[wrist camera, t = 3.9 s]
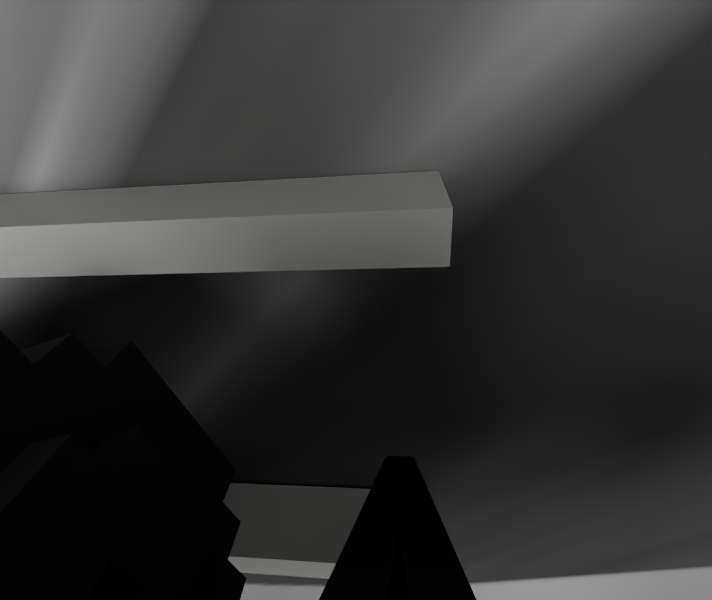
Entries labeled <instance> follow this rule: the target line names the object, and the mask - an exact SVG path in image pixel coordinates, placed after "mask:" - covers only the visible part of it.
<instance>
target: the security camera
mask: <svg viewBox="0 0 712 600" xmlns="http://www.w3.org/2000/svg"><path fill="white" fill-rule="evenodd" d="M235 471H236V469H235V468H234V467H233V465H232V464H231V463H230V462H229V461H228V459H227V458H226V457H225V456H224V454H223V453H222V452H221V451H220V449H219V448H218V447H217V446H216V444H215V443H214V442H213V441H212V440H211V438H210V437H209V436H208V435H207V433H206V432H205V431H204V430H203V428H202V427H201V426H200V425H199V424H198V422H197V421H196V420H195V419H194V417H193V416H192V415H191V414H190V412H189V411H188V410H187V409H186V408H185V406H184V405H183V404H182V403H181V401H180V400H179V399H178V398H177V396H176V395H175V394H174V393H173V392H172V390H171V389H170V388H169V387H168V385H167V384H166V383H165V382H164V380H163V379H162V378H161V377H160V375H159V374H158V373H157V372H156V371H155V369H154V368H153V367H152V366H151V364H150V363H149V362H148V361H147V359H146V358H145V357H144V356H143V355H142V353H141V352H140V351H139V350H138V348H137V347H136V346H135V345H134V343H133V342H132V341H129V342H126V343H123V344H120V345H117V346H113V347H110V348H107V349H104V350H101V351H98V352H94V353H90V352H89V350H88V349H87V348H86V347H85V346H84V345H83V344H82V343H81V341H80V340H79V339H78V338H77V337H76V336H75V335H74V334H73V333H70V334H67V335H64V336H61V337H59V338H56V339H53V340H50V341H47V342H44V343H41V344H38V345H35V346H32V347H29V348H26V349H23V350H19V349H18V348H17V347H16V346H15V345H14V344H13V343H12V342H11V341H10V340H9V339H8V338H7V337H6V336H5V335H4V334H3V333H2V332H1V331H0V600H240V598H241V594H242V591H243V588H244V584H245V581H246V577H245V576H244V575H243V574H242V573H241V572H240V571H239V570H238V569H237V568H236V567H235V566H234V565H233V564H232V563H231V562H230V561H229V560H228V558H229V555H230V552H231V549H232V546H233V543H234V540H235V538H236V535H237V532H238V529H239V526H240V523H241V522H240V520H239V519H238V518H237V517H236V516H235V515H234V514H233V513H232V511H231V510H230V509H229V508H228V507H227V506H226V505H225V503H224V502H223V500H224V498H225V495H226V493H227V491H228V488H229V486H230V483H231V481H232V478H233V476H234V473H235Z"/></svg>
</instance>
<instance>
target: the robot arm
mask: <svg viewBox="0 0 712 600" xmlns="http://www.w3.org/2000/svg"><path fill="white" fill-rule="evenodd" d="M319 600H476V598H475V596H474V593H473V591H472V589H471V586H470V584H469V582H468V580H467V577H466V575H465V573H464V570H463V568H462V566H461V564H460V561H459V559H458V557H457V554H456V552H455V550H454V548H453V545H452V543H451V541H450V538H449V536H448V534H447V532H446V529H445V527H444V525H443V522H442V520H441V518H440V516H439V513H438V511H437V509H436V506H435V504H434V502H433V500H432V497H431V495H430V493H429V490H428V488H427V486H426V484H425V481H424V479H423V477H422V474H421V472H420V470H419V468H418V465H417V463H416V461H415V459H414V458H413V457H411V456H387V457H386V458H385V459H384V461H383V463H382V466H381V468H380V470H379V472H378V474H377V476H376V478H375V481H374V483H373V485H372V487H371V489H370V491H369V493H368V496H367V498H366V500H365V502H364V504H363V506H362V509H361V511H360V513H359V515H358V517H357V519H356V521H355V524H354V526H353V528H352V530H351V532H350V534H349V536H348V539H347V541H346V543H345V545H344V547H343V549H342V551H341V554H340V556H339V558H338V560H337V562H336V564H335V567H334V569H333V571H332V573H331V575H330V577H329V579H328V582H327V584H326V586H325V588H324V590H323V592H322V594H321V597H320V599H319Z"/></svg>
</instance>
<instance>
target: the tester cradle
mask: <svg viewBox="0 0 712 600" xmlns="http://www.w3.org/2000/svg"><path fill="white" fill-rule="evenodd" d="M452 218H453V206H452V204H451V201H450V199H449V196H448V194H447V191H446V188H445V186H444V183H443V181H442V178H441V176H440V173H439V171H424V172H405V173H386V174H368V175H349V176H331V177H312V178H294V179H275V180H257V181H238V182H220V183H201V184H183V185H164V186H146V187H127V188H109V189H90V190H72V191H53V192H35V193H16V194H0V278H20V277H60V276H100V275H140V274H180V273H220V272H260V271H299V270H339V269H379V268H419V267H450V254H451V236H452ZM369 491H370V489H361V488H338V487H315V486H291V485H268V484H244V483H230V486H229V488H228V491H227V493H226V495H225V498H224V500H223V502H224V503H225V505H226V506H227V507H228V508H229V509H230V510H231V511H232V513H233V514H234V515H235V516H236V517H237V518H238V519H239V520H240V522H241V523H240V526H239V529H238V532H237V535H236V538H235V540H234V543H233V546H232V549H231V552H230V555H229V558H228V560H229V561H230V562H231V563H232V564H233V565H234V566H235V567H236V568H237V569H238V570H239V571H240V572H241V573H255V574H269V575H283V576H297V577H311V578H325V579H329V577H330V575H331V573H332V571H333V569H334V567H335V564H336V562H337V560H338V558H339V556H340V554H341V551H342V549H343V547H344V545H345V543H346V541H347V539H348V536H349V534H350V532H351V530H352V528H353V526H354V524H355V521H356V519H357V517H358V515H359V513H360V511H361V509H362V506H363V504H364V502H365V500H366V498H367V496H368V493H369Z"/></svg>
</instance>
